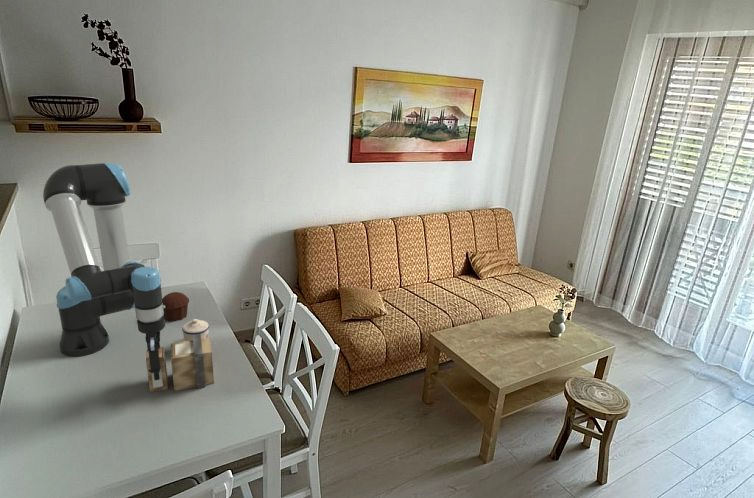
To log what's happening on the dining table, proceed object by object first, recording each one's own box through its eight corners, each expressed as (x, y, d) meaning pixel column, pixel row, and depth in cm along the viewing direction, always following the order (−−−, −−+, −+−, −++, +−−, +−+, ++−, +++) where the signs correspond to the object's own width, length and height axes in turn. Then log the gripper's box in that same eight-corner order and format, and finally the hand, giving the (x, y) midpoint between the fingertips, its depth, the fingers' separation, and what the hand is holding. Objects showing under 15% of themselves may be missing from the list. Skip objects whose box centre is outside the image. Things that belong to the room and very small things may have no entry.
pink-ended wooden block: (150, 392, 144) (145, 359, 139) (150, 380, 149) (146, 349, 144) (167, 388, 145) (163, 356, 141) (167, 378, 151) (163, 346, 146)
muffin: (183, 324, 183) (180, 301, 179) (155, 322, 183) (153, 300, 179) (194, 310, 194) (192, 289, 191) (168, 308, 194) (166, 287, 191)
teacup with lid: (211, 352, 166) (209, 324, 162) (184, 356, 163) (181, 327, 159) (209, 335, 176) (207, 308, 172) (184, 338, 173) (181, 311, 169)
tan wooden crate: (174, 393, 144) (170, 358, 139) (174, 371, 154) (170, 338, 149) (214, 385, 148) (212, 351, 144) (211, 365, 159) (209, 332, 154)
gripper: (163, 330, 132) (171, 396, 140) (164, 301, 148) (170, 361, 156) (134, 334, 129) (144, 401, 137) (138, 304, 145) (146, 365, 153)
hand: (158, 380), depth 146 cm, fingers closed on pink-ended wooden block, 6 cm apart
